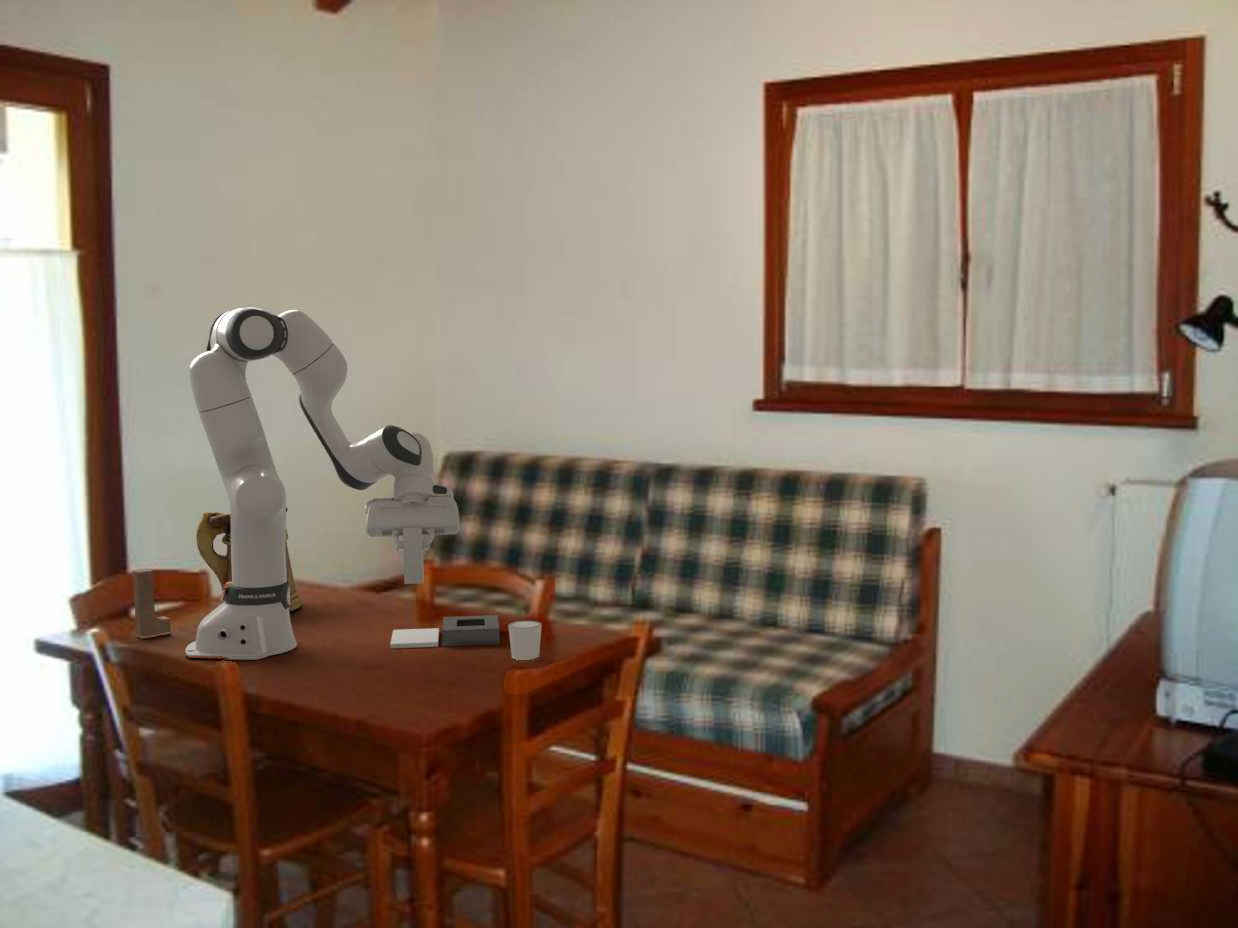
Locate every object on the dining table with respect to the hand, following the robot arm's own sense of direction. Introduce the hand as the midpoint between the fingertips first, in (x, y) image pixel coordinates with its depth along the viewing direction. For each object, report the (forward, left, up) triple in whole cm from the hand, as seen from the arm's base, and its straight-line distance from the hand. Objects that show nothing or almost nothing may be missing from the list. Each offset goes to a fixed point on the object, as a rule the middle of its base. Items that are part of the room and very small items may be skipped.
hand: (413, 549), depth 264 cm
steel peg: (0, +1, -7) cm, 7 cm away
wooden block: (-58, +13, -20) cm, 62 cm away
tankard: (-40, +34, -20) cm, 56 cm away
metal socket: (+12, +1, -20) cm, 23 cm away
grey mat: (0, +1, -20) cm, 20 cm away
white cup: (+23, -16, -20) cm, 35 cm away
